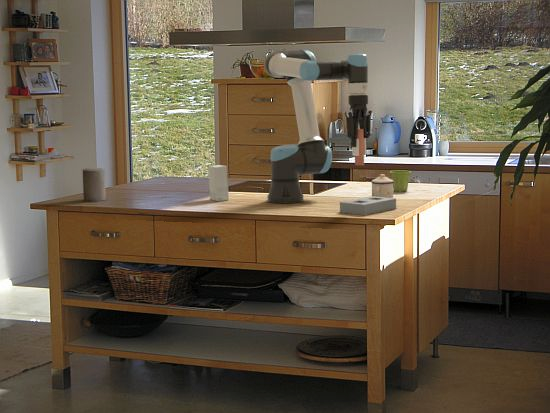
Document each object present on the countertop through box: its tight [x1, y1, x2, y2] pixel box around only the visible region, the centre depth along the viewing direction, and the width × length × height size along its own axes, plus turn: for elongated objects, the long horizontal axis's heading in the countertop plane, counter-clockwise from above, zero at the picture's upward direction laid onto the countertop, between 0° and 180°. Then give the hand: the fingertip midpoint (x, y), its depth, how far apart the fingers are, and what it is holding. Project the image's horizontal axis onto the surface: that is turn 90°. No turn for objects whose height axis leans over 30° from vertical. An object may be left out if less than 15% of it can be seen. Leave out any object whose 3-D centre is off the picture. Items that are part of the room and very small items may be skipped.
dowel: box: [354, 128, 365, 166], centre depth 368 cm, size 4×4×14 cm
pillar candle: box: [82, 166, 107, 202], centre depth 414 cm, size 10×10×15 cm
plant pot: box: [389, 169, 412, 192], centre depth 423 cm, size 9×9×9 cm
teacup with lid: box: [371, 173, 394, 198], centre depth 387 cm, size 12×9×12 cm
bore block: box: [339, 195, 397, 216], centre depth 369 cm, size 12×20×4 cm, turn 136°
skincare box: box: [207, 164, 230, 202], centre depth 406 cm, size 8×6×15 cm
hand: (359, 155), depth 369 cm, fingers closed on dowel, 3 cm apart
